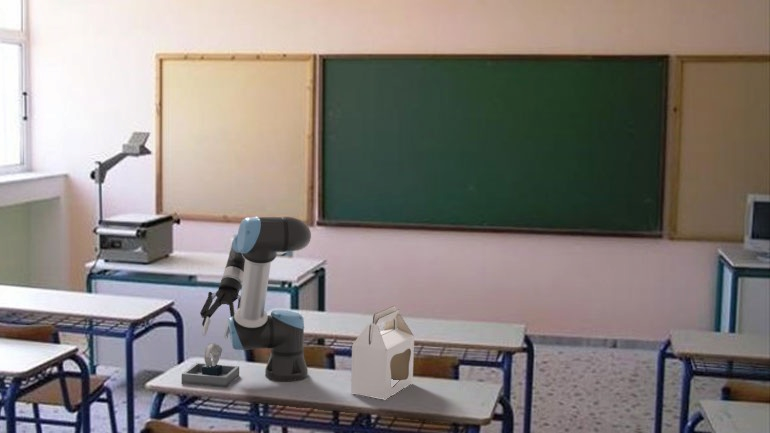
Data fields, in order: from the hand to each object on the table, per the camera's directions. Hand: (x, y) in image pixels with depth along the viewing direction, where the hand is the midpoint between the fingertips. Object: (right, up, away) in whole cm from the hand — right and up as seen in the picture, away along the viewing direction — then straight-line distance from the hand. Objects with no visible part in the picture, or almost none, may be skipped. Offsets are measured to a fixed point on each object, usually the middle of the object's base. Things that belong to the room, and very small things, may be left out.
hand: (214, 335), depth 334 cm
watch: (-1, -14, -1) cm, 14 cm away
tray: (-1, -15, -4) cm, 16 cm away
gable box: (+60, -18, -8) cm, 63 cm away
